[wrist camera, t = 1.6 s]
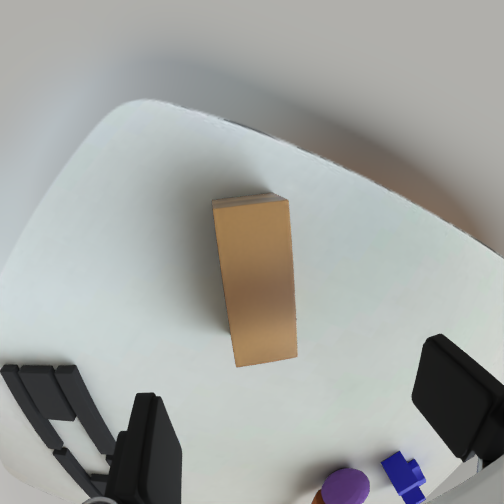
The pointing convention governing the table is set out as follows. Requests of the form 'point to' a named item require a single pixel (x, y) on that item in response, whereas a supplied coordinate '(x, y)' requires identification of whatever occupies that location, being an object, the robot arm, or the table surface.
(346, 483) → the kendama
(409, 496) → the blue cradle bracket
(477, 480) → the robot arm
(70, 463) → the pad
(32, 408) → the pad
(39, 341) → the table surface
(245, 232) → the block
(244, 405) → the table surface
